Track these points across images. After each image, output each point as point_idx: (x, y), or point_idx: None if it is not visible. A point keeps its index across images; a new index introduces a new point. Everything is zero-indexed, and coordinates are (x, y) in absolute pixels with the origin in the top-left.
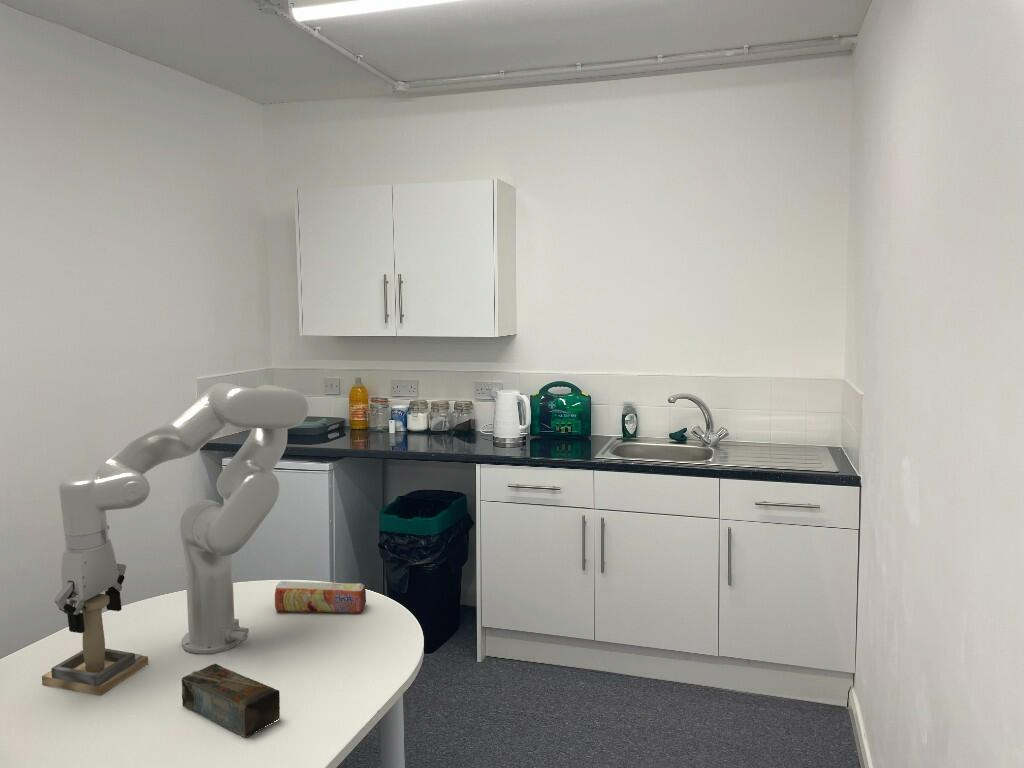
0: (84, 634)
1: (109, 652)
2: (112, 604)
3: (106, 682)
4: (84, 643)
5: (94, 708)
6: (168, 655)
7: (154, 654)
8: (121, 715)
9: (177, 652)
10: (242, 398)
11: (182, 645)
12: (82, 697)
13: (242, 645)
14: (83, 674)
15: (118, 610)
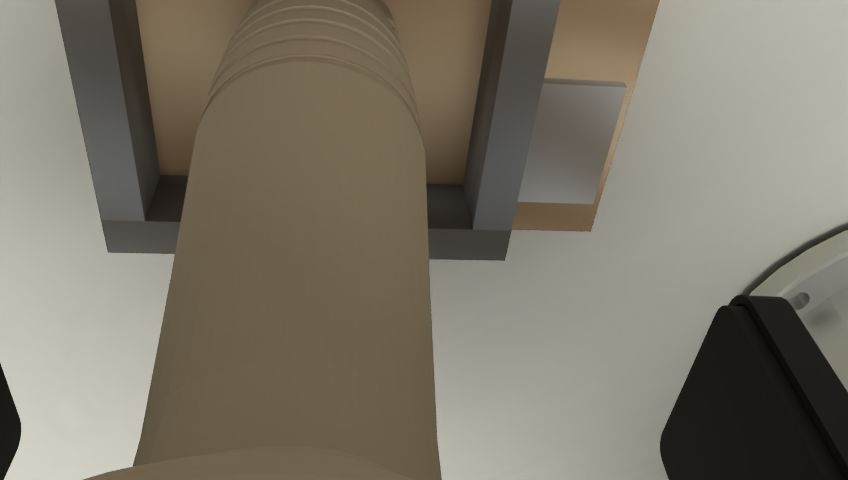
0: (179, 229)
1: (500, 67)
2: (722, 461)
3: None
4: (192, 155)
5: (13, 238)
6: (703, 229)
7: (721, 148)
8: (42, 381)
9: (742, 251)
10: None
11: (798, 269)
12: (67, 88)
13: None
14: (83, 135)
15: (661, 452)
